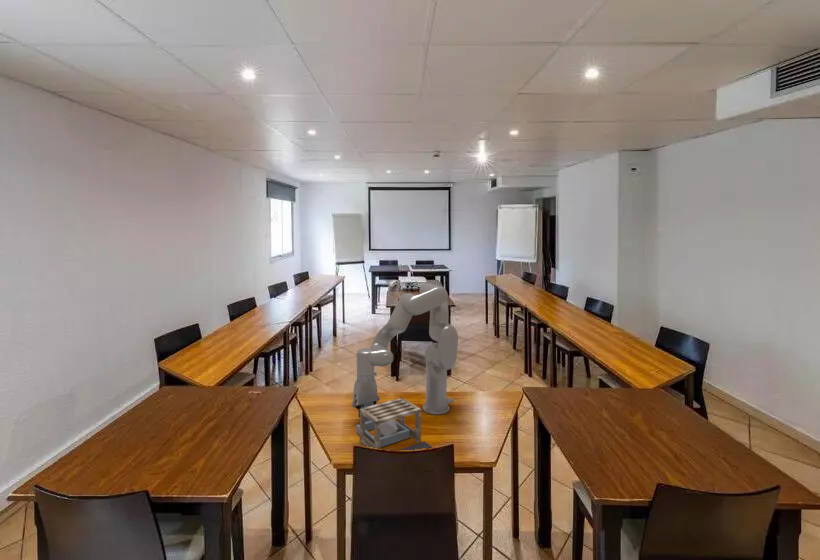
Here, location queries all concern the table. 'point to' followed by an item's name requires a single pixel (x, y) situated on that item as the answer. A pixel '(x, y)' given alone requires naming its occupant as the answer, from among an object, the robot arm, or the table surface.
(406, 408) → the tunnel
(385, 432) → the die
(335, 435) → the table surface
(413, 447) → the pit mat
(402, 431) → the tray with upright post
